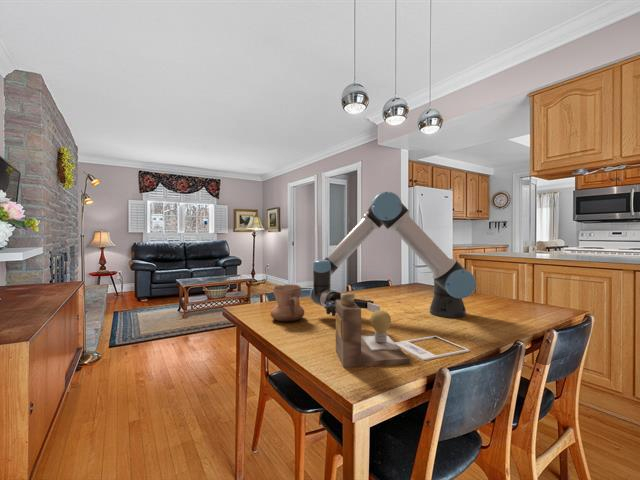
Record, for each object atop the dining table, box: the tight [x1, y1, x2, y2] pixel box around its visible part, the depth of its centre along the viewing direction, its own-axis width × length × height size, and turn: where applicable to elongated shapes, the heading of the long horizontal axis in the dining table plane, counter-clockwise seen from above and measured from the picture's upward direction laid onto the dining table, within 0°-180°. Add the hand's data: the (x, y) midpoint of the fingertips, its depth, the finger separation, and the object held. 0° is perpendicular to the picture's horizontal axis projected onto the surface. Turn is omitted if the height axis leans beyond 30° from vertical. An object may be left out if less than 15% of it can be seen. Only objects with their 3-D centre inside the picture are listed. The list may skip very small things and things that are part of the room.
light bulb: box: [370, 309, 392, 343], centre depth 100 cm, size 6×6×10 cm
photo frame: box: [394, 335, 471, 362], centre depth 100 cm, size 15×1×18 cm
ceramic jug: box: [269, 283, 305, 323], centre depth 133 cm, size 18×14×14 cm
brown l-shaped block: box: [335, 292, 411, 369], centre depth 97 cm, size 19×22×19 cm
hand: (363, 312), depth 108 cm, fingers open, 13 cm apart
